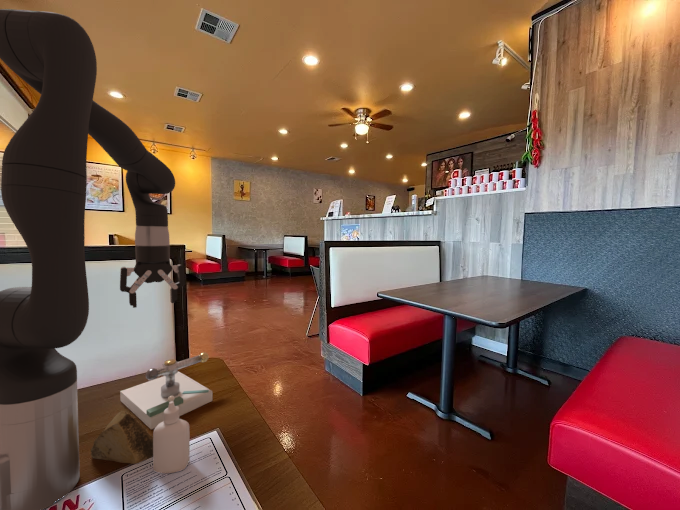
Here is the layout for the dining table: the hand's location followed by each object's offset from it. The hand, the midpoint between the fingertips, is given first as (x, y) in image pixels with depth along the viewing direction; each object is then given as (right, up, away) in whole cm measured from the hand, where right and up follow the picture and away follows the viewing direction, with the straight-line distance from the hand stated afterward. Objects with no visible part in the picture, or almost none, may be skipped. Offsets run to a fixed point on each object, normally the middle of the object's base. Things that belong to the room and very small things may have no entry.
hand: (154, 304), depth 76 cm
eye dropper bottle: (+19, -25, -24) cm, 40 cm away
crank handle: (+8, -19, -3) cm, 21 cm away
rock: (+8, -25, -22) cm, 34 cm away
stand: (+5, -24, -3) cm, 25 cm away
